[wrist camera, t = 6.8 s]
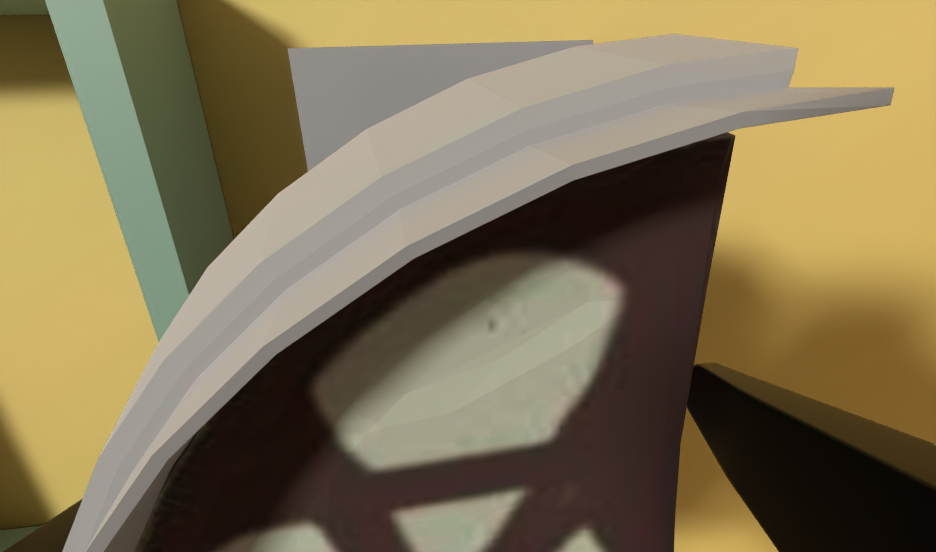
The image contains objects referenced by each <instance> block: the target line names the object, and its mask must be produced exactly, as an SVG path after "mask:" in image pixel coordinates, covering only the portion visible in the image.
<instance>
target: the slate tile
mask: <svg viewBox="0 0 936 552" xmlns="http://www.w3.org/2000/svg"><path fill="white" fill-rule="evenodd" d="M591 44H593V40H578V41H541V42H504V43H468V44H431V45H394V46H358V47H321V48H288V54H289V60H290V66H291V72H292V78H293V84H294V90H295V96H296V102H297V108H298V114H299V120H300V126H301V132H302V138H303V144H304V150H305V156H306V162H307V168H308V171H310V170H311V169H312V168H314V167H315V166H316V165H318V164H319V163H321V162H322V161H323V160H325V159H326V158H327V157H329V156H330V155H332V154H333V153H334V152H336V151H337V150H338V149H340V148H341V147H343V146H344V145H345V144H347V143H348V142H349V141H351V140H352V139H353V138H355V137H356V136H358V135H359V134H360V133H362V132H363V131H364V130H366V129H368V128H370V127H372V126H374V125H376V124H378V123H380V122H382V121H384V120H386V119H388V118H390V117H392V116H394V115H396V114H398V113H400V112H402V111H404V110H406V109H408V108H410V107H412V106H414V105H416V104H418V103H420V102H422V101H424V100H426V99H428V98H430V97H432V96H434V95H436V94H438V93H440V92H442V91H444V90H446V89H448V88H450V87H452V86H454V85H456V84H458V83H460V82H462V81H464V80H466V79H468V78H472V77H475V76H478V75H482V74H485V73H488V72H492V71H495V70H498V69H502V68H505V67H508V66H512V65H515V64H518V63H521V62H525V61H528V60H531V59H535V58H538V57H541V56H545V55H548V54H551V53H555V52H558V51H561V50H565V49H568V48H571V47H575V46H583V45H591Z"/></svg>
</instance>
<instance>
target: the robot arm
mask: <svg viewBox="0 0 936 552" xmlns="http://www.w3.org/2000/svg"><path fill="white" fill-rule="evenodd" d="M687 408H688V410H689V412H690V414H691V416H692V417H693V419H694V421H695V423H696V424H697V426H698V428H699V430H700V431H701V433H702V435H703V437H704V438H705V440H706V442H707V444H708V445H709V447H710V449H711V451H712V453H713V454H714V456H715V458H716V460H717V461H718V463H719V465H720V466H721V468H722V470H723V471H724V473H725V475H726V476H727V478H728V479H729V481H730V482H731V484H732V485H733V487H734V488H735V490H736V491H737V493H738V494H739V495H740V497H741V498H742V500H743V501H744V503H745V504H746V505H747V507H748V508H749V510H750V511H751V513H752V514H753V515H754V517H755V518H756V520H757V521H758V523H759V524H760V525H761V527H762V528H763V530H764V531H765V533H766V534H767V536H768V537H769V538H770V540H771V541H772V543H773V544H774V546H775V547H776V548H777V550H778V551H779V552H936V446H935V445H934V444H933V443H930V442H928V441H925V440H922V439H920V438H917V437H914V436H911V435H909V434H906V433H903V432H901V431H898V430H895V429H892V428H890V427H887V426H884V425H882V424H879V423H876V422H873V421H871V420H868V419H865V418H863V417H860V416H857V415H854V414H852V413H849V412H846V411H844V410H841V409H838V408H835V407H833V406H830V405H827V404H825V403H822V402H819V401H816V400H814V399H811V398H808V397H806V396H803V395H800V394H797V393H795V392H792V391H789V390H787V389H784V388H781V387H778V386H776V385H773V384H770V383H768V382H765V381H762V380H759V379H757V378H754V377H751V376H749V375H746V374H743V373H740V372H738V371H735V370H732V369H730V368H727V367H724V366H722V365H719V364H716V363H703V364H695V365H694V366H693V372H692V378H691V384H690V390H689V395H688V401H687ZM81 502H82V499H81V500H80V501H78V502H77V503H75V504H74V505H72V506H71V507H69V508H68V509H66V510H65V511H63V512H62V513H60V514H59V515H57V516H56V517H54V518H53V519H51V520H50V521H48V522H47V523H45V524H43V525H42V526H40V527H39V528H37V529H36V530H34V531H33V532H31V533H30V534H28V535H27V536H25V537H24V538H22V539H21V540H19V541H18V542H16V543H15V544H13V545H12V546H10V547H9V548H7V549H6V550H4V551H3V552H62V551H63V549H64V546H65V543H66V541H67V538H68V536H69V533H70V530H71V528H72V525H73V523H74V520H75V517H76V515H77V512H78V510H79V507H80V505H81Z"/></svg>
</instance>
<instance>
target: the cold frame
mask: <svg viewBox="0 0 936 552" xmlns="http://www.w3.org/2000/svg"><path fill="white" fill-rule="evenodd" d="M41 14H50V17H51V20H52V23H53V26H54V29H55V32H56V35H57V38H58V41H59V44H60V47H61V50H62V53H63V56H64V59H65V62H66V65H67V68H68V71H69V74H70V77H71V80H72V83H73V86H74V89H75V92H76V95H77V98H78V101H79V104H80V107H81V110H82V113H83V116H84V119H85V122H86V125H87V128H88V131H89V134H90V137H91V140H92V143H93V146H94V149H95V152H96V155H97V158H98V161H99V164H100V167H101V170H102V173H103V176H104V179H105V182H106V185H107V188H108V191H109V194H110V197H111V200H112V203H113V206H114V209H115V212H116V215H117V218H118V221H119V224H120V227H121V230H122V233H123V236H124V239H125V242H126V245H127V248H128V251H129V254H130V257H131V260H132V263H133V266H134V269H135V272H136V275H137V278H138V281H139V284H140V287H141V290H142V293H143V296H144V299H145V302H146V305H147V308H148V311H149V314H150V317H151V320H152V323H153V326H154V329H155V332H156V335H157V338H158V341H160V339H161V338H162V336H163V335H164V333H165V332H166V330H167V329H168V327H169V326H170V324H171V323H172V321H173V319H174V318H175V316H176V315H177V313H178V312H179V310H180V309H181V307H182V306H183V304H184V303H185V301H186V300H187V298H188V296H189V295H190V293H191V292H192V290H193V289H194V287H195V286H196V284H197V283H198V281H199V280H200V278H201V276H202V275H203V273H204V272H205V270H206V269H207V267H208V266H209V265H210V264H211V263H212V262H213V261H214V260H215V259H216V258H217V257H218V256H219V255H220V254H221V253H222V252H223V251H224V250H225V248H226V247H227V246H228V245H229V244H230V243H231V242H232V241H233V240H234V238H233V234H232V230H231V226H230V222H229V217H228V213H227V209H226V205H225V201H224V197H223V192H222V188H221V184H220V180H219V176H218V172H217V167H216V163H215V159H214V155H213V151H212V147H211V142H210V138H209V134H208V130H207V126H206V122H205V117H204V113H203V109H202V105H201V101H200V97H199V92H198V88H197V84H196V80H195V76H194V72H193V67H192V63H191V59H190V55H189V51H188V46H187V42H186V38H185V34H184V30H183V26H182V21H181V17H180V13H179V9H178V5H177V1H176V0H0V15H41ZM41 526H42V525H41ZM39 527H40V526H33V527H24V528H16V529H7V530H0V552H3V551H4V550H6V549H7V548H9V547H10V546H12V545H13V544H15V543H16V542H18V541H19V540H21V539H22V538H24V537H25V536H27V535H28V534H30V533H31V532H33V531H34V530H36V529H37V528H39Z"/></svg>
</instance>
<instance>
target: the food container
mask: <svg viewBox="0 0 936 552" xmlns="http://www.w3.org/2000/svg"><path fill="white" fill-rule="evenodd" d="M797 52H798V48H792V47H784V46H775V45H766V44H758V43H749V42H740V41H732V40H723V39H714V38H706V37H697V36H688V35H680V34H669V35H661V36H654V37H646V38H638V39H630V40H622V41H614V42H607V43H599V44H591V45H583V46H575V47H571V48H568V49H565V50H561V51H558V52H555V53H551V54H548V55H545V56H541V57H538V58H535V59H531V60H528V61H525V62H521V63H518V64H515V65H512V66H508V67H505V68H502V69H498V70H495V71H492V72H488V73H485V74H482V75H478V76H475V77H472V78H468V79H466V80H464V81H462V82H460V83H458V84H456V85H454V86H452V87H450V88H448V89H446V90H444V91H442V92H440V93H438V94H436V95H434V96H432V97H430V98H428V99H426V100H424V101H422V102H420V103H418V104H416V105H414V106H412V107H410V108H408V109H406V110H404V111H402V112H400V113H398V114H396V115H394V116H392V117H390V118H388V119H386V120H384V121H382V122H380V123H378V124H376V125H374V126H372V127H370V128H368V129H366V130H364V131H363V132H362V133H360V134H359V135H358V136H356V137H355V138H353V139H352V140H351V141H349V142H348V143H347V144H345V145H344V146H343V147H341V148H340V149H338V150H337V151H336V152H334V153H333V154H332V155H330V156H329V157H327V158H326V159H325V160H323V161H322V162H321V163H319V164H318V165H316V166H315V167H314V168H312V169H311V170H310V171H308V172H307V173H306V174H304V175H303V176H301V177H300V178H299V179H297V180H296V181H295V182H293V183H292V184H290V185H289V186H288V187H286V188H285V189H284V190H282V191H281V192H279V193H278V194H277V195H276V196H275V197H274V198H273V199H272V200H271V201H270V203H269V204H268V205H267V206H266V207H265V208H264V209H263V210H262V211H261V212H260V213H259V214H258V215H257V216H256V217H255V218H254V219H253V220H252V221H251V222H250V223H249V224H248V226H247V227H246V228H245V229H244V230H243V231H242V232H241V233H240V234H239V235H238V236H237V237H236V238H235V239H234V240H233V241H232V242H231V243H230V244H229V245H228V246H227V247H226V248H225V250H224V251H223V252H222V253H221V254H220V255H219V256H218V257H217V258H216V259H215V260H214V261H213V262H212V263H211V264H210V265H209V266H208V267H207V269H206V270H205V272H204V273H203V275H202V276H201V278H200V280H199V281H198V283H197V284H196V286H195V287H194V289H193V290H192V292H191V293H190V295H189V296H188V298H187V300H186V301H185V303H184V304H183V306H182V307H181V309H180V310H179V312H178V313H177V315H176V316H175V318H174V319H173V321H172V323H171V324H170V326H169V327H168V329H167V330H166V332H165V333H164V335H163V336H162V338H161V339H160V341H159V343H158V344H157V346H156V348H155V350H154V352H153V354H152V356H151V357H150V359H149V361H148V363H147V365H146V367H145V369H144V371H143V373H142V375H141V377H140V379H139V381H138V383H137V385H136V386H135V388H134V390H133V392H132V394H131V396H130V398H129V400H128V402H127V404H126V406H125V408H124V410H123V412H122V414H121V416H120V417H119V419H118V421H117V423H116V425H115V427H114V429H113V431H112V433H111V435H110V437H109V439H108V441H107V443H106V445H105V446H104V448H103V450H102V452H101V454H100V456H99V458H98V461H97V463H96V466H95V468H94V471H93V473H92V476H91V479H90V481H89V484H88V486H87V489H86V492H85V494H84V497H83V499H82V502H81V505H80V507H79V510H78V512H77V515H76V517H75V520H74V523H73V525H72V528H71V530H70V533H69V536H68V538H67V541H66V543H65V546H64V549H63V551H62V552H674V529H675V509H676V495H677V482H678V468H679V455H680V443H681V437H682V431H683V425H684V419H685V413H686V407H687V401H688V395H689V390H690V384H691V378H692V372H693V366H694V360H695V354H696V348H697V342H698V336H699V331H700V325H701V319H702V313H703V307H704V301H705V295H706V289H707V284H708V278H709V273H710V268H711V262H712V257H713V252H714V246H715V241H716V236H717V230H718V225H719V220H720V214H721V209H722V204H723V198H724V193H725V188H726V183H727V177H728V172H729V167H730V161H731V156H732V151H733V145H734V140H735V135H733V134H730V133H727V132H730V131H733V130H736V129H739V128H746V127H752V126H759V125H765V124H772V123H778V122H785V121H791V120H798V119H804V118H811V117H817V116H824V115H830V114H837V113H843V112H850V111H856V110H863V109H869V108H876V107H882V106H889V105H891V101H892V96H893V92H894V88H788V87H789V84H790V81H791V78H792V75H793V72H794V68H795V63H796V58H797Z"/></svg>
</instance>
